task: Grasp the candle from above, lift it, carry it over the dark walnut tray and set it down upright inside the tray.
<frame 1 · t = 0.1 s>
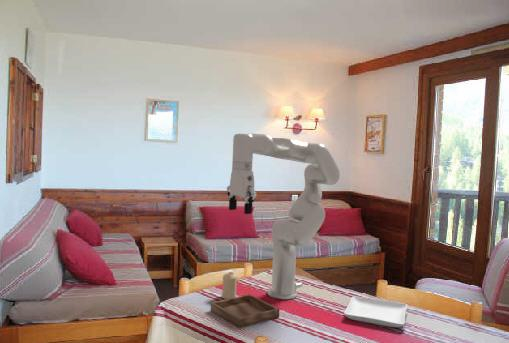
hand: (240, 211, 171), 37 cm above the table, tool pointing down, fingers open, 9 cm apart
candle: (228, 297, 182), on the table
salad plate: (376, 317, 170), on the table
walnut tray: (244, 313, 166), on the table
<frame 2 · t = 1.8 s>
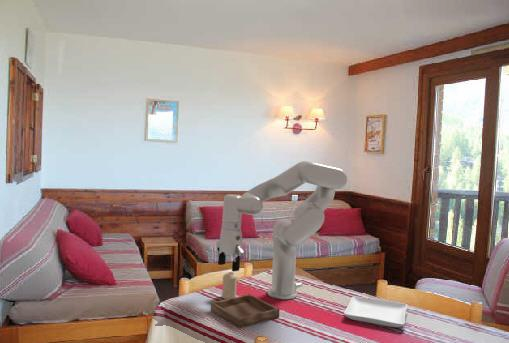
hand: (228, 267, 181), 12 cm above the table, tool pointing down, fingers open, 9 cm apart
nothing on the table moved.
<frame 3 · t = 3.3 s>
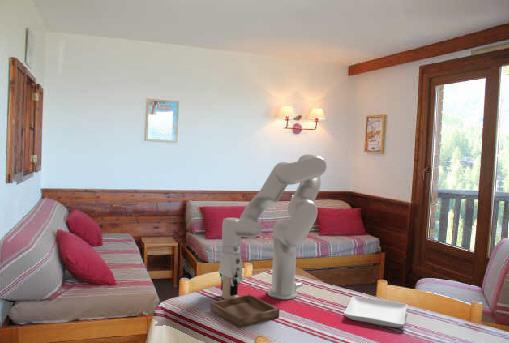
hand: (229, 292, 182), 2 cm above the table, tool pointing down, fingers closed on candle, 5 cm apart
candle: (228, 297, 182), on the table, touching gripper
everything else where it was.
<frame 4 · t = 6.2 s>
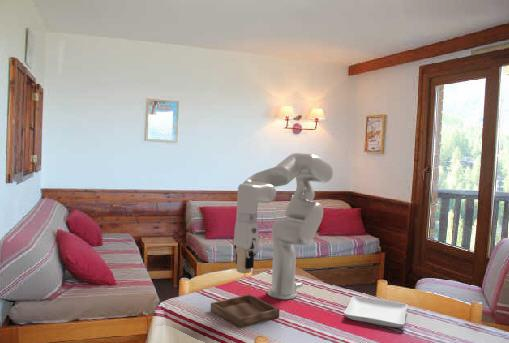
hand: (244, 265, 166), 18 cm above the table, tool pointing down, fingers closed on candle, 5 cm apart
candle: (243, 271, 166), point 15 cm above the table, touching gripper
everything else where it was.
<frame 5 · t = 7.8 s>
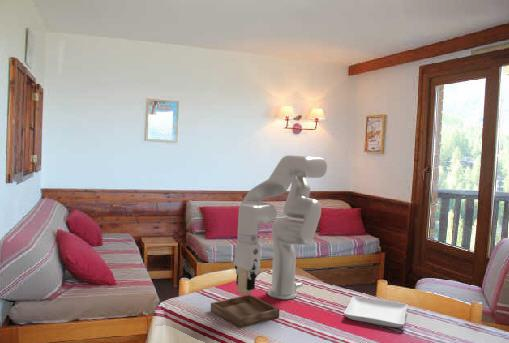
hand: (245, 286, 165), 10 cm above the table, tool pointing down, fingers closed on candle, 5 cm apart
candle: (244, 292, 165), point 8 cm above the table, touching gripper
everything else where it was.
when the fingers open (4 cm above the table, at t = 9.3 s): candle drops 1 cm, resting on walnut tray.
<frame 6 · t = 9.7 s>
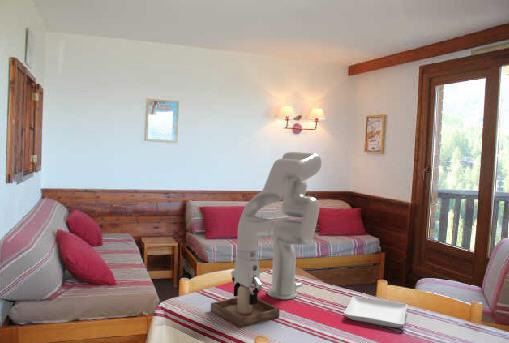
hand: (245, 299, 166), 5 cm above the table, tool pointing down, fingers open, 9 cm apart
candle: (244, 312, 166), point 1 cm above the table, touching walnut tray
everything else where it was.
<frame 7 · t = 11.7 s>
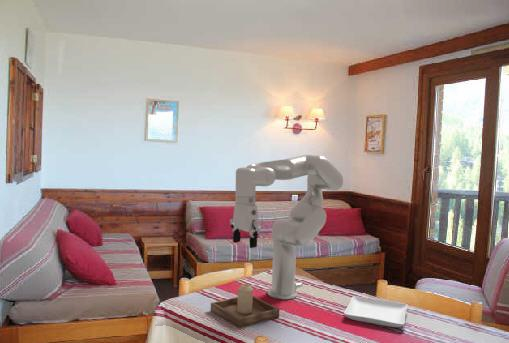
hand: (244, 244, 172), 24 cm above the table, tool pointing down, fingers open, 9 cm apart
nothing on the table moved.
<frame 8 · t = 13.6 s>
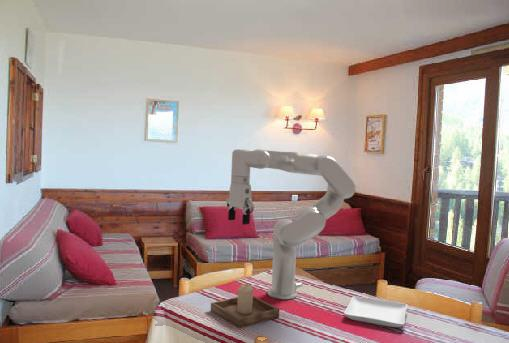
hand: (238, 222, 183), 30 cm above the table, tool pointing down, fingers open, 9 cm apart
nothing on the table moved.
at the end: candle inside the target area on the walnut tray (0.2 cm from its centre), point 0.6 cm above the walnut tray's base; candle tilted 1°; the gripper is holding nothing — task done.
